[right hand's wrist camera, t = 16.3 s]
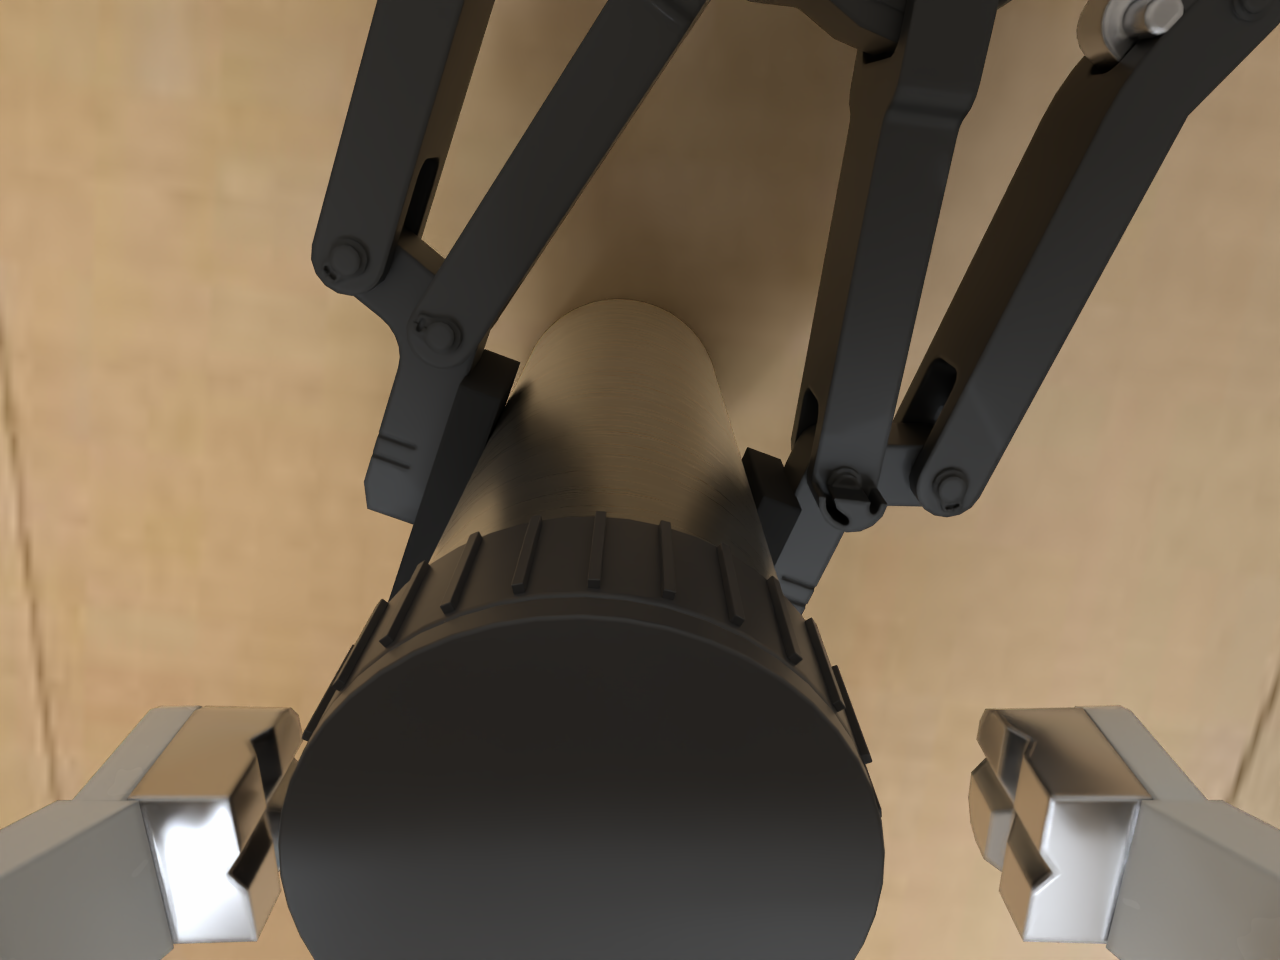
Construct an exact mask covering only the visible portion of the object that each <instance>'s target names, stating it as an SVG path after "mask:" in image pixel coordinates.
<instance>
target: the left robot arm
mask: <svg viewBox="0 0 1280 960" xmlns="http://www.w3.org/2000/svg"><path fill="white" fill-rule="evenodd" d="M494 1H495V0H377V4H376V8H375V11H374V15H373V19H372V23H371V26H370V30H369V34H368V38H367V41H366V45H365V49H364V52H363V56H362V60H361V64H360V67H359V71H358V75H357V79H356V82H355V86H354V90H353V94H352V97H351V101H350V105H349V109H348V112H347V116H346V120H345V124H344V127H343V131H342V135H341V138H340V142H339V146H338V150H337V153H336V157H335V161H334V165H333V168H332V172H331V176H330V180H329V183H328V187H327V191H326V195H325V198H324V202H323V206H322V210H321V213H320V217H319V221H318V224H317V228H316V232H315V236H314V239H313V243H312V254H311V260H312V263H313V266H314V269H315V272H316V274H317V276H318V277H319V278H320V279H321V281H322V282H323V283H324V284H325V285H326V286H327V287H329V288H330V289H332V290H334V291H335V292H337V293H340V294H345V295H351V296H354V297H356V298H357V299H358V300H359V301H361V302H362V303H363V304H364V305H366V306H367V307H368V308H369V309H371V310H372V311H373V312H374V313H376V314H377V315H378V316H379V317H381V318H382V319H383V320H384V321H385V322H386V323H387V324H388V325H389V327H390V328H391V330H392V332H393V333H394V335H395V337H396V340H397V343H398V345H399V353H400V360H399V366H398V370H397V373H396V377H395V380H394V383H393V387H392V390H391V393H390V397H389V400H388V403H387V407H386V410H385V413H384V417H383V420H382V423H381V427H380V430H379V435H378V437H377V440H376V443H375V447H374V450H373V455H372V457H371V460H370V463H369V467H368V470H367V473H366V477H365V480H364V486H365V494H366V501H367V509H370V510H373V511H376V512H379V513H382V514H385V515H388V516H390V517H393V518H396V519H399V520H402V521H405V522H408V523H411V524H414V525H413V528H412V531H411V534H410V537H409V540H408V543H407V546H406V549H405V552H404V555H403V558H402V561H401V564H400V568H399V571H398V574H397V577H396V580H395V583H394V586H393V589H392V592H391V595H390V598H389V601H388V603H389V602H390V601H391V599H392V598H393V597H394V596H395V595H396V594H397V593H398V592H399V591H400V590H401V589H402V587H403V586H404V585H405V584H406V583H408V582H409V581H410V579H411V577H412V575H413V573H414V571H415V569H416V567H417V565H418V564H420V563H421V562H423V561H424V560H425V561H426V562H427V563H429V561H430V559H431V557H432V555H433V553H434V551H435V549H436V547H437V545H438V543H439V541H440V539H441V537H442V535H443V533H444V531H445V529H446V527H447V525H448V523H449V520H450V518H451V516H452V514H453V512H454V510H455V508H456V506H457V504H458V502H459V500H460V498H461V496H462V494H463V492H464V490H465V488H466V486H467V484H468V482H469V480H470V478H471V476H472V473H473V471H474V469H475V467H476V465H477V463H478V461H479V459H480V457H481V455H482V453H483V451H484V449H485V447H486V445H487V443H488V441H489V439H490V437H491V435H492V433H493V431H494V428H495V426H496V424H497V422H498V420H499V418H500V416H501V414H502V412H503V410H504V408H505V405H506V402H507V399H508V396H509V394H510V391H511V388H512V385H513V382H514V379H515V376H516V374H517V371H518V368H519V365H520V362H518V361H515V360H513V359H510V358H507V357H505V356H502V355H499V354H497V353H494V352H491V351H489V350H486V349H484V347H485V344H486V341H487V338H488V335H489V332H490V330H491V329H492V327H493V326H494V325H495V323H496V322H497V321H498V318H499V317H500V315H501V314H502V312H503V311H504V309H505V308H506V306H507V305H508V303H509V302H510V300H511V299H512V297H513V296H514V294H515V293H516V291H517V290H518V288H519V287H520V285H521V284H522V282H523V281H524V279H525V278H526V276H527V275H528V273H529V272H530V270H531V269H532V267H533V266H534V264H535V263H536V261H537V260H538V258H539V257H540V255H541V254H542V252H543V251H544V249H545V248H546V246H547V245H548V243H549V242H550V240H551V239H552V237H553V236H554V234H555V233H556V231H557V230H558V228H559V227H560V225H561V224H562V222H563V221H564V219H565V218H566V216H567V214H568V213H569V211H570V210H571V208H572V207H573V205H574V204H575V202H576V201H577V199H578V198H579V196H580V195H581V193H582V192H583V190H584V189H585V187H586V186H587V184H588V183H589V181H590V180H591V178H592V177H593V175H594V174H595V172H596V171H597V169H598V168H599V166H600V165H601V163H602V162H603V160H604V159H605V157H606V156H607V154H608V153H609V151H610V150H611V148H612V147H613V145H614V144H615V142H616V141H617V139H618V138H619V136H620V135H621V133H622V132H623V130H624V129H625V127H626V126H627V124H628V123H629V121H630V120H631V118H632V117H633V115H634V114H635V112H636V111H637V109H638V108H639V106H640V105H641V103H642V102H643V100H644V99H645V97H646V96H647V94H648V93H649V91H650V90H651V88H652V87H653V85H654V84H655V82H656V81H657V79H658V78H659V76H660V75H661V73H662V72H663V70H664V69H665V67H666V66H667V64H668V63H669V61H670V60H671V58H672V57H673V55H674V54H675V52H676V51H677V49H678V48H679V46H680V45H681V43H682V42H683V40H684V39H685V37H686V36H687V34H688V33H689V32H690V30H691V29H692V27H693V26H694V24H695V23H696V21H697V20H698V18H699V17H700V15H701V14H702V12H703V11H704V9H705V8H706V6H707V5H708V3H709V2H710V0H608V1H607V3H606V5H605V6H604V8H603V9H602V11H601V13H600V14H599V16H598V17H597V19H596V20H595V22H594V24H593V25H592V27H591V28H590V30H589V32H588V33H587V35H586V36H585V38H584V40H583V41H582V43H581V44H580V46H579V48H578V49H577V51H576V52H575V54H574V55H573V57H572V59H571V60H570V62H569V63H568V65H567V67H566V68H565V70H564V71H563V73H562V75H561V76H560V78H559V79H558V81H557V82H556V84H555V86H554V87H553V89H552V90H551V92H550V94H549V95H548V97H547V98H546V100H545V102H544V103H543V105H542V106H541V108H540V109H539V111H538V113H537V114H536V116H535V117H534V119H533V121H532V122H531V124H530V125H529V127H528V129H527V130H526V132H525V133H524V135H523V137H522V138H521V140H520V141H519V143H518V144H517V146H516V148H515V149H514V151H513V152H512V154H511V156H510V157H509V159H508V160H507V162H506V164H505V165H504V167H503V168H502V170H501V171H500V173H499V175H498V176H497V178H496V179H495V181H494V183H493V184H492V186H491V187H490V189H489V191H488V192H487V194H486V195H485V197H484V199H483V200H482V202H481V203H480V205H479V206H478V208H477V210H476V211H475V213H474V214H473V216H472V218H471V219H470V221H469V222H468V224H467V226H466V227H465V229H464V230H463V232H462V233H461V235H460V237H459V238H458V240H457V241H456V243H455V245H454V246H453V248H452V249H451V251H450V253H449V254H448V256H447V257H446V259H444V258H443V257H442V256H440V255H439V254H438V253H437V252H436V251H434V250H433V249H432V248H431V247H430V246H429V245H427V244H426V243H425V242H424V241H423V240H421V238H422V235H423V231H424V228H425V225H426V222H427V218H428V215H429V212H430V209H431V205H432V202H433V199H434V196H435V192H436V189H437V186H438V183H439V179H440V176H441V173H442V170H443V166H444V163H445V160H446V157H447V154H448V150H449V147H450V144H451V141H452V137H453V134H454V131H455V128H456V124H457V121H458V118H459V115H460V111H461V108H462V105H463V102H464V98H465V95H466V92H467V89H468V85H469V82H470V79H471V76H472V73H473V69H474V66H475V63H476V60H477V56H478V53H479V50H480V47H481V43H482V40H483V37H484V34H485V30H486V27H487V24H488V21H489V17H490V14H491V11H492V8H493V5H494ZM748 1H750V2H757V3H765V4H774V5H782V6H790V7H796V8H798V9H800V10H801V11H803V12H804V13H805V14H806V15H807V16H808V17H810V18H811V19H812V20H813V21H814V22H815V23H817V24H818V25H819V26H820V27H821V28H822V29H824V30H825V31H826V32H827V33H828V34H829V35H831V36H832V37H833V38H834V39H836V40H838V41H841V42H843V43H845V44H847V45H850V46H852V47H854V48H857V49H858V50H857V56H856V61H855V66H854V72H853V77H852V83H851V89H850V99H849V106H850V124H849V130H848V136H847V141H846V146H845V152H844V157H843V163H842V168H841V173H840V179H839V184H838V189H837V195H836V200H835V206H834V211H833V216H832V222H831V227H830V232H829V238H828V243H827V249H826V254H825V259H824V265H823V270H822V275H821V281H820V286H819V292H818V297H817V302H816V308H815V313H814V319H813V324H812V329H811V335H810V340H809V345H808V351H807V356H806V362H805V367H804V372H803V378H802V383H801V388H800V394H799V399H798V405H797V410H796V415H795V421H794V426H793V431H792V437H791V450H792V452H791V454H790V456H789V458H788V460H787V462H786V464H785V466H783V464H782V462H781V459H778V458H775V457H773V456H770V455H767V454H765V453H762V452H759V451H757V450H754V449H751V448H748V447H747V449H746V451H745V454H744V456H743V458H742V463H743V467H744V470H745V473H746V476H747V480H748V483H749V486H750V489H751V493H752V496H753V499H754V503H755V506H756V509H757V512H758V516H759V519H760V522H761V526H762V529H763V532H764V535H765V539H766V542H767V545H768V548H769V552H770V555H771V558H772V562H773V565H774V568H775V571H776V575H777V578H778V581H779V583H780V586H781V589H782V592H783V595H784V596H785V597H786V598H787V599H788V600H789V601H790V603H791V604H792V605H793V606H794V607H795V608H796V609H797V611H798V612H799V613H800V614H801V615H802V613H803V611H804V609H805V605H806V604H807V603H808V601H809V600H810V598H811V596H812V594H813V592H814V588H815V586H817V584H818V582H819V580H820V578H821V576H822V574H823V572H824V570H825V568H826V566H827V564H828V562H829V561H830V559H831V557H832V555H833V553H834V551H835V549H836V547H837V545H838V543H839V541H840V539H841V537H842V535H843V533H844V532H858V531H862V530H864V529H866V528H869V527H871V526H873V525H874V524H875V523H876V522H877V521H878V520H879V519H880V518H881V517H882V516H883V514H884V512H885V510H886V507H887V506H922V507H923V508H924V509H925V510H927V511H928V512H930V513H932V514H933V515H936V516H942V517H950V516H955V515H960V514H961V513H963V512H965V511H966V510H968V509H970V508H971V507H972V506H973V505H974V503H975V502H976V501H977V500H978V499H979V497H980V495H981V494H982V492H983V490H984V488H985V486H986V484H987V483H988V481H989V479H990V477H991V475H992V473H993V472H994V470H995V468H996V466H997V464H998V463H999V461H1000V459H1001V457H1002V455H1003V453H1004V452H1005V450H1006V448H1007V446H1008V444H1009V442H1010V441H1011V439H1012V437H1013V435H1014V433H1015V431H1016V430H1017V428H1018V426H1019V424H1020V422H1021V420H1022V419H1023V417H1024V415H1025V413H1026V411H1027V409H1028V408H1029V406H1030V404H1031V402H1032V400H1033V398H1034V397H1035V395H1036V393H1037V391H1038V389H1039V387H1040V386H1041V384H1042V382H1043V380H1044V378H1045V376H1046V375H1047V373H1048V371H1049V369H1050V367H1051V366H1052V364H1053V362H1054V360H1055V358H1056V356H1057V355H1058V353H1059V351H1060V349H1061V347H1062V345H1063V344H1064V342H1065V340H1066V338H1067V336H1068V334H1069V333H1070V331H1071V329H1072V327H1073V325H1074V323H1075V322H1076V320H1077V318H1078V316H1079V314H1080V312H1081V311H1082V309H1083V307H1084V305H1085V303H1086V301H1087V300H1088V298H1089V296H1090V294H1091V292H1092V290H1093V289H1094V287H1095V285H1096V283H1097V281H1098V279H1099V278H1100V276H1101V274H1102V272H1103V270H1104V268H1105V267H1106V265H1107V263H1108V261H1109V259H1110V258H1111V256H1112V254H1113V252H1114V250H1115V248H1116V247H1117V245H1118V243H1119V241H1120V239H1121V237H1122V236H1123V234H1124V232H1125V230H1126V228H1127V226H1128V225H1129V223H1130V221H1131V219H1132V217H1133V215H1134V214H1135V212H1136V210H1137V208H1138V206H1139V204H1140V203H1141V201H1142V199H1143V197H1144V195H1145V193H1146V192H1147V190H1148V188H1149V186H1150V184H1151V182H1152V181H1153V179H1154V177H1155V175H1156V173H1157V171H1158V170H1159V168H1160V166H1161V164H1162V162H1163V161H1164V159H1165V157H1166V155H1167V153H1168V151H1169V150H1170V148H1171V146H1172V144H1173V142H1174V140H1175V139H1176V137H1177V135H1178V133H1179V131H1180V129H1181V128H1182V126H1183V124H1184V122H1185V120H1186V118H1187V117H1188V115H1189V114H1190V113H1191V112H1192V111H1193V110H1194V109H1195V108H1196V107H1197V106H1198V105H1199V104H1200V103H1201V102H1202V101H1203V100H1204V99H1205V98H1206V97H1207V96H1208V95H1209V94H1210V93H1211V92H1212V91H1213V90H1214V89H1215V88H1216V87H1217V86H1218V85H1219V84H1220V83H1221V82H1222V81H1223V80H1224V79H1225V78H1226V77H1227V76H1228V75H1229V74H1230V73H1231V72H1232V71H1233V70H1234V69H1235V68H1236V67H1237V66H1238V65H1239V64H1240V63H1241V62H1242V61H1243V60H1244V59H1245V58H1246V57H1247V56H1248V55H1249V54H1250V53H1251V52H1252V51H1253V50H1254V49H1255V48H1256V47H1257V46H1258V45H1259V44H1260V42H1261V41H1262V40H1263V39H1264V38H1265V37H1266V36H1267V35H1268V34H1269V33H1270V32H1271V31H1272V30H1273V29H1274V28H1275V27H1276V26H1277V25H1278V24H1279V23H1280V0H1088V2H1087V4H1086V6H1085V7H1084V9H1083V11H1082V13H1081V14H1080V18H1079V21H1078V25H1077V39H1078V43H1079V47H1080V49H1081V50H1082V52H1083V53H1084V55H1085V56H1084V57H1083V58H1082V59H1081V60H1080V62H1079V63H1078V64H1077V65H1076V66H1075V67H1074V69H1073V70H1072V71H1071V73H1070V74H1069V76H1068V77H1067V78H1066V80H1065V81H1064V83H1063V84H1062V86H1061V87H1060V89H1059V90H1058V91H1057V93H1056V94H1055V96H1054V98H1053V100H1052V102H1051V103H1050V105H1049V107H1048V109H1047V111H1046V112H1045V114H1044V116H1043V118H1042V119H1041V121H1040V123H1039V125H1038V128H1037V130H1036V132H1035V134H1034V136H1033V138H1032V140H1031V142H1030V144H1029V146H1028V148H1027V150H1026V152H1025V154H1024V156H1023V158H1022V160H1021V162H1020V164H1019V166H1018V168H1017V170H1016V172H1015V174H1014V176H1013V178H1012V180H1011V182H1010V184H1009V186H1008V188H1007V190H1006V192H1005V194H1004V196H1003V198H1002V200H1001V203H1000V205H999V207H998V209H997V211H996V213H995V215H994V217H993V219H992V221H991V223H990V225H989V227H988V229H987V231H986V233H985V235H984V237H983V239H982V241H981V243H980V245H979V247H978V249H977V251H976V253H975V255H974V257H973V259H972V261H971V263H970V265H969V267H968V269H967V271H966V273H965V275H964V278H963V280H962V282H961V284H960V286H959V288H958V290H957V292H956V294H955V296H954V298H953V300H952V302H951V304H950V306H949V308H948V310H947V312H946V314H945V316H944V318H943V320H942V322H941V324H940V326H939V328H938V330H937V332H936V334H935V336H934V338H933V340H932V342H931V344H930V346H929V348H928V350H927V353H926V355H925V357H924V359H923V361H922V363H921V365H920V367H919V369H918V371H917V373H916V375H915V377H914V379H913V381H912V383H911V385H910V387H909V389H908V391H907V393H906V395H905V397H904V399H903V401H902V403H901V405H900V407H899V409H898V411H897V413H896V415H895V417H894V412H895V408H896V404H897V399H898V395H899V390H900V386H901V381H902V377H903V373H904V368H905V364H906V359H907V355H908V351H909V346H910V342H911V337H912V333H913V328H914V324H915V320H916V315H917V311H918V306H919V302H920V298H921V293H922V289H923V284H924V280H925V275H926V271H927V267H928V262H929V258H930V253H931V249H932V245H933V240H934V236H935V231H936V227H937V222H938V218H939V214H940V209H941V205H942V200H943V196H944V191H945V187H946V183H947V178H948V174H949V169H950V165H951V161H952V156H953V152H954V147H955V143H956V138H957V135H958V131H959V128H960V125H961V123H962V121H963V119H964V118H965V116H966V115H967V114H968V112H969V111H970V109H971V107H972V105H973V102H974V100H975V98H976V95H977V92H978V88H979V85H980V81H981V76H982V72H983V68H984V63H985V59H986V55H987V50H988V46H989V42H990V37H991V33H992V29H993V24H994V20H995V16H996V11H997V10H998V9H999V8H1001V7H1002V6H1004V5H1005V4H1007V3H1008V2H1010V1H1011V0H748ZM893 417H894V419H893Z"/></svg>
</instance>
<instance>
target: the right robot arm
mask: <svg viewBox="0 0 1280 960" xmlns="http://www.w3.org/2000/svg"><path fill="white" fill-rule="evenodd" d="M301 737H302V730H301V725H300V720H299V715H298V714H297V713H296V712H295V711H294V710H293V709H292V708H283V707H236V706H204V707H202V706H160V707H157V708H154V709H150V710H149V711H148V712H147V714H146V715H145V716H144V717H143V718H142V719H141V721H140V722H139V723H138V724H137V725H136V726H135V728H134V729H133V730H132V731H131V732H130V733H129V734H128V736H127V737H126V738H125V739H124V740H123V741H122V743H121V744H120V745H119V746H118V747H117V748H116V750H115V751H114V752H113V753H112V754H111V755H110V757H109V758H108V759H107V760H106V761H105V762H104V764H103V765H102V766H101V767H100V768H99V769H98V771H97V772H96V773H95V774H94V775H93V776H92V778H91V779H90V780H89V781H88V782H87V783H86V785H85V786H84V787H83V788H82V789H81V790H80V792H79V793H78V794H77V795H76V796H75V797H74V799H73V800H57V801H55V802H53V803H51V804H49V805H48V806H46V807H44V808H42V809H40V810H38V811H36V812H34V813H32V814H30V815H28V816H26V817H24V818H22V819H20V820H18V821H16V822H14V823H13V824H11V825H9V826H7V827H5V828H3V829H1V830H0V960H161V959H162V958H163V957H164V956H165V955H167V954H168V953H169V952H170V951H171V950H172V949H174V945H173V944H180V943H215V942H249V941H257V940H258V938H259V936H260V934H261V932H262V930H263V928H264V926H265V923H266V921H267V919H268V917H269V915H270V913H271V911H272V909H273V907H274V905H275V903H276V901H277V898H278V896H279V894H280V892H281V886H280V881H279V875H278V872H279V871H280V862H279V848H278V839H279V829H280V818H281V810H282V806H283V803H284V799H285V795H286V792H287V788H288V784H289V781H290V778H291V776H292V774H293V772H294V770H295V768H296V765H297V763H298V761H297V760H296V759H295V758H294V756H295V754H296V752H297V750H298V749H299V747H300V745H301V743H302V741H303V739H302V738H301ZM977 741H978V743H979V745H980V747H981V749H982V750H983V752H984V754H985V756H986V758H985V759H984V760H983V761H982V762H981V763H980V764H979V765H978V766H977V767H976V768H975V769H974V770H973V771H972V772H971V780H970V788H969V796H968V799H969V811H970V822H971V826H972V830H973V833H974V837H975V840H976V843H977V845H978V847H979V850H980V852H981V854H982V856H983V858H984V859H985V860H986V861H987V862H989V863H990V864H992V865H993V866H994V867H996V868H997V869H998V870H1000V871H1001V872H1002V875H1001V881H1000V886H999V892H1000V894H1001V896H1002V898H1003V901H1004V903H1005V905H1006V907H1007V909H1008V911H1009V913H1010V915H1011V917H1012V919H1013V921H1014V923H1015V925H1016V927H1017V930H1018V932H1019V934H1020V936H1021V938H1022V940H1023V941H1029V942H1064V943H1099V944H1107V945H1106V948H1107V949H1108V950H1109V951H1110V952H1112V953H1113V954H1114V955H1115V956H1116V957H1117V958H1118V959H1120V960H1280V830H1279V829H1277V828H1275V827H1273V826H1271V825H1269V824H1267V823H1265V822H1263V821H1262V820H1260V819H1258V818H1256V817H1254V816H1252V815H1250V814H1248V813H1246V812H1244V811H1242V810H1240V809H1238V808H1236V807H1234V806H1232V805H1231V804H1229V803H1227V802H1225V801H1223V800H1207V799H1206V797H1205V796H1204V795H1203V794H1202V793H1201V792H1200V790H1199V789H1198V788H1197V787H1196V786H1195V785H1194V783H1193V782H1192V781H1191V780H1190V779H1189V778H1188V776H1187V775H1186V774H1185V773H1184V772H1183V771H1182V770H1181V768H1180V767H1179V766H1178V765H1177V764H1176V763H1175V761H1174V760H1173V759H1172V758H1171V757H1170V756H1169V754H1168V753H1167V752H1166V751H1165V750H1164V749H1163V747H1162V746H1161V745H1160V744H1159V743H1158V742H1157V740H1156V739H1155V738H1154V737H1153V736H1152V735H1151V733H1150V732H1149V731H1148V730H1147V729H1146V728H1145V726H1144V725H1143V724H1142V723H1141V722H1140V721H1139V719H1138V718H1137V717H1136V716H1135V715H1134V714H1133V712H1132V711H1131V710H1129V709H1127V708H1125V707H1123V706H1121V705H1107V706H1076V707H1074V708H1008V709H985V711H984V713H983V715H982V717H981V719H980V723H979V729H978V734H977Z"/></svg>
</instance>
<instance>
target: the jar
mask: <svg viewBox="0 0 1280 960" xmlns="http://www.w3.org/2000/svg"><path fill="white" fill-rule="evenodd" d="M596 511H606V517H610V518H623V519H631V520H636V521H641V522H646V523H651V524H656V525H659V524H660V521H661V520H664V521H667V522H670V523H671V529H674V530H677V531H680V532H683V533H686V534H689V535H692V536H695V537H698V538H700V539H702V540H704V541H706V542H708V543H710V544H712V545H714V546H716V547H718V546H719V544H720V543H721V542H722V543H724V544H726V545H728V546H729V547H730V551H731V554H732V555H733V556H735V557H736V558H738V559H739V560H741V561H743V562H744V563H746V564H747V565H749V566H750V567H752V568H753V569H755V570H756V571H757V572H759V573H760V574H761V575H762V576H763V577H764V578H766V579H767V580H768V579H769V578H770V577H771V576H774V577H775V578H776V579H777V580H778V578H777V575H776V571H775V568H774V565H773V562H772V558H771V555H770V552H769V548H768V545H767V542H766V539H765V535H764V532H763V529H762V526H761V522H760V519H759V516H758V512H757V509H756V506H755V503H754V499H753V496H752V493H751V489H750V486H749V483H748V480H747V476H746V473H745V470H744V467H743V463H742V460H741V457H740V453H739V450H738V447H737V444H736V440H735V437H734V434H733V431H732V427H731V424H730V421H729V417H728V414H727V411H726V408H725V404H724V401H723V398H722V395H721V391H720V388H719V385H718V381H717V378H716V375H715V372H714V368H713V365H712V362H711V360H710V357H709V355H708V353H707V351H706V349H705V347H704V346H703V344H702V343H701V341H700V339H699V338H698V337H697V336H696V335H695V333H694V332H693V331H692V330H691V329H690V328H689V327H688V326H687V325H686V324H685V323H684V322H682V321H681V320H680V319H678V318H677V317H676V316H674V315H673V314H671V313H669V312H667V311H666V310H664V309H662V308H660V307H657V306H654V305H652V304H649V303H646V302H641V301H636V300H628V299H608V300H602V301H597V302H593V303H590V304H586V305H583V306H581V307H579V308H577V309H575V310H572V311H570V312H569V313H567V314H566V315H564V316H563V317H561V318H560V319H558V320H557V321H556V322H555V323H554V324H553V325H551V326H550V327H549V328H548V330H547V331H546V332H545V333H544V334H543V335H542V336H541V338H540V339H539V341H538V342H537V344H536V345H535V347H534V349H533V351H532V353H531V355H530V357H529V359H528V361H527V363H526V365H525V367H524V369H523V371H522V373H521V375H520V377H519V379H518V381H517V384H516V386H515V388H514V390H513V392H512V394H511V396H510V398H509V400H508V402H507V404H506V406H505V408H504V410H503V412H502V414H501V416H500V418H499V420H498V422H497V424H496V426H495V428H494V431H493V433H492V435H491V437H490V439H489V441H488V443H487V445H486V447H485V449H484V451H483V453H482V455H481V457H480V459H479V461H478V463H477V465H476V467H475V469H474V471H473V473H472V476H471V478H470V480H469V482H468V484H467V486H466V488H465V490H464V492H463V494H462V496H461V498H460V500H459V502H458V504H457V506H456V508H455V510H454V512H453V514H452V516H451V518H450V520H449V523H448V525H447V527H446V529H445V531H444V533H443V535H442V537H441V539H440V541H439V543H438V545H437V547H436V549H435V551H434V553H433V555H432V557H431V559H430V561H429V563H428V564H429V565H430V564H431V563H433V562H434V561H436V560H438V559H439V558H441V557H443V556H444V555H446V554H448V553H449V552H451V551H453V550H454V549H456V548H457V547H459V546H462V545H464V544H466V543H467V540H468V538H469V536H470V535H471V534H473V533H475V532H478V531H479V532H480V534H481V536H484V535H487V534H489V533H492V532H496V531H499V530H502V529H506V528H509V527H513V526H516V525H519V524H523V523H529V521H530V517H531V516H534V515H541V517H542V520H547V519H553V518H563V517H586V516H595V513H596Z"/></svg>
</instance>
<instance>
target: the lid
mask: <svg viewBox="0 0 1280 960" xmlns="http://www.w3.org/2000/svg"><path fill="white" fill-rule="evenodd" d="M301 738H302V739H303V740H306V741H308V743H307V745H306V747H305V748H304V750H303V753H302V755H301V757H300V759H299V761H298V763H297V765H296V768H295V770H294V772H293V774H292V776H291V778H290V781H289V784H288V788H287V792H286V795H285V799H284V803H283V806H282V810H281V818H280V829H279V839H278V848H279V862H280V875H281V880H282V884H283V888H284V893H285V897H286V901H287V905H288V908H289V910H290V913H291V915H292V918H293V920H294V922H295V925H296V927H297V930H298V932H299V935H300V936H301V938H302V940H303V941H304V943H305V945H306V946H307V948H308V950H309V951H310V953H311V955H312V956H313V958H314V960H854V959H855V958H856V956H857V954H858V953H859V951H860V949H861V948H862V946H863V944H864V942H865V940H866V937H867V935H868V932H869V930H870V927H871V925H872V922H873V920H874V918H875V915H876V911H877V906H878V902H879V898H880V894H881V889H882V885H883V874H884V858H885V849H884V839H883V829H882V820H881V817H882V814H881V807H880V804H879V801H878V798H877V795H876V793H875V790H874V787H873V784H872V781H871V779H870V776H869V773H868V770H867V767H866V764H867V763H871V762H872V759H871V756H870V753H869V750H868V748H867V745H866V742H865V739H864V737H863V734H862V731H861V728H860V726H859V723H858V720H857V718H856V715H855V712H854V709H853V707H852V704H851V701H850V699H849V696H848V693H847V690H846V688H845V685H844V682H843V679H842V677H841V674H840V671H839V669H838V666H837V665H835V666H832V667H831V664H830V661H829V659H828V656H827V653H826V650H825V647H824V644H823V642H822V639H821V636H820V633H819V630H818V628H817V625H816V623H815V622H814V620H813V619H812V618H809V619H808V620H806V621H805V620H804V618H803V617H802V615H801V614H800V613H799V612H798V611H797V609H796V608H795V607H794V606H793V605H792V604H791V603H790V601H789V600H788V599H787V598H786V597H785V596H784V595H783V592H782V589H781V586H780V583H779V581H778V580H777V579H776V578H775V577H774V576H771V577H770V578H769V579H768V580H767V579H766V578H764V577H763V576H762V575H761V574H760V573H759V572H757V571H756V570H755V569H753V568H752V567H750V566H749V565H747V564H746V563H744V562H743V561H741V560H739V559H738V558H736V557H735V556H733V555H732V554H731V551H730V547H729V546H728V545H726V544H724V543H722V542H721V543H720V544H719V546H718V547H716V546H714V545H712V544H710V543H708V542H706V541H704V540H702V539H700V538H698V537H695V536H692V535H689V534H686V533H683V532H680V531H677V530H674V529H671V523H670V522H667V521H664V520H661V521H660V524H659V525H656V524H651V523H646V522H641V521H636V520H631V519H623V518H610V517H606V511H596V513H595V516H586V517H563V518H553V519H547V520H542V517H541V515H534V516H531V517H530V521H529V523H523V524H519V525H516V526H513V527H509V528H506V529H502V530H499V531H496V532H492V533H489V534H487V535H484V536H481V534H480V532H479V531H478V532H475V533H473V534H471V535H470V536H469V538H468V540H467V543H466V544H464V545H462V546H459V547H457V548H456V549H454V550H453V551H451V552H449V553H448V554H446V555H444V556H443V557H441V558H439V559H438V560H436V561H434V562H433V563H431V564H430V565H429V564H428V563H427V562H426V561H425V560H424V561H423V562H421V563H420V564H418V565H417V567H416V569H415V571H414V573H413V575H412V577H411V579H410V581H409V582H408V583H406V584H405V585H404V586H403V587H402V589H401V590H400V591H399V592H398V593H397V594H396V595H395V596H394V597H393V598H392V599H391V601H390V602H389V603H388V602H386V601H385V600H383V599H381V600H380V602H379V603H378V604H377V605H376V607H375V609H374V611H373V613H372V614H371V616H370V618H369V620H368V622H367V623H366V625H365V627H364V629H363V631H362V632H361V634H360V636H359V638H358V640H357V641H356V643H355V645H352V646H351V648H350V650H349V652H348V654H347V655H346V657H345V659H344V661H343V663H342V664H341V666H340V668H339V670H338V671H337V673H336V675H335V677H334V679H333V680H332V682H331V684H330V686H329V688H328V689H327V691H326V693H325V695H324V696H323V698H322V700H321V702H320V704H319V705H318V707H317V709H316V711H315V713H314V714H313V716H312V718H311V720H310V722H309V723H308V725H307V727H306V729H305V730H304V733H303V735H302V737H301Z"/></svg>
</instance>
